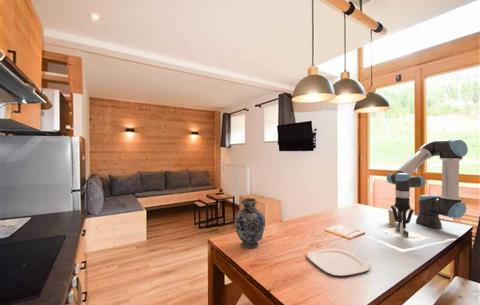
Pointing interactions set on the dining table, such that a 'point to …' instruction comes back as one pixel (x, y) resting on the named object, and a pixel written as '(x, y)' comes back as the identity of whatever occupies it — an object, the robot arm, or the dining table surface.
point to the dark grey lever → (399, 229)
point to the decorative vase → (249, 224)
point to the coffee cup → (392, 216)
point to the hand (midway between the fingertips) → (402, 232)
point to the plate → (337, 262)
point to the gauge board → (411, 236)
